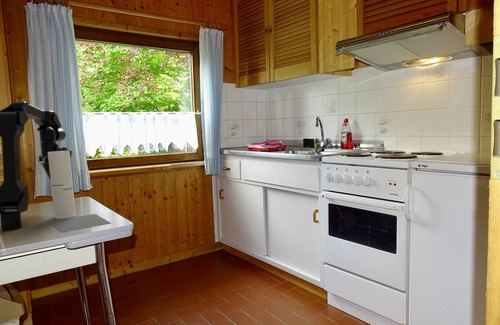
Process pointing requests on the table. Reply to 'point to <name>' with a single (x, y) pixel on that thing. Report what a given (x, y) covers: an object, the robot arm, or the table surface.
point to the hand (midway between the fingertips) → (51, 179)
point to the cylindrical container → (61, 184)
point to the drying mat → (79, 222)
